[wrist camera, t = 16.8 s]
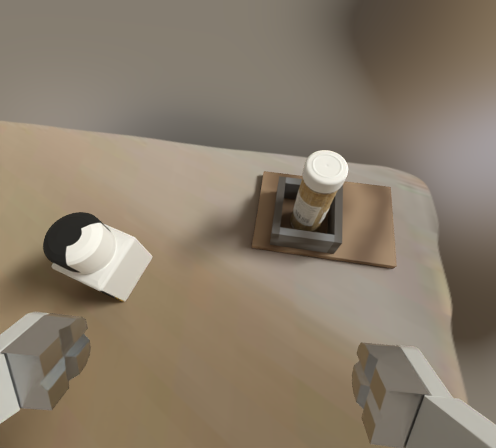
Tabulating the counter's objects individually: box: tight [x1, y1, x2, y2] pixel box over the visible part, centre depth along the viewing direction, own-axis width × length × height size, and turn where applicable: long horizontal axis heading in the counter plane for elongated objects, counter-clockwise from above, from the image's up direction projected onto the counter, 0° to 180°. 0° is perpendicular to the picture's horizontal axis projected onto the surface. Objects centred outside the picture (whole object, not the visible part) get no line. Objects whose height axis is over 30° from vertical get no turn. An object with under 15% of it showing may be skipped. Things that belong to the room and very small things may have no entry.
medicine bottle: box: [43, 212, 152, 302], centre depth 34 cm, size 7×7×12 cm
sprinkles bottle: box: [290, 150, 348, 232], centre depth 35 cm, size 5×5×14 cm
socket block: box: [252, 171, 397, 268], centre depth 40 cm, size 20×13×5 cm, turn 81°
